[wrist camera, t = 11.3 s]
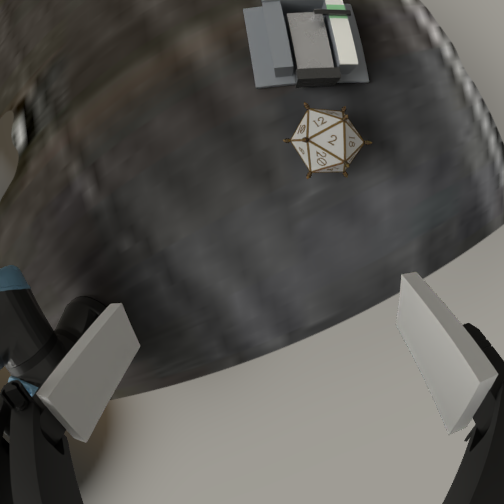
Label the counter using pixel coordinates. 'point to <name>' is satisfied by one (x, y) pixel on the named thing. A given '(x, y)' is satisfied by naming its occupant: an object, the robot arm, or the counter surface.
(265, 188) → the counter surface
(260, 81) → the gauge housing
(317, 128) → the game die
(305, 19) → the block with dark end
